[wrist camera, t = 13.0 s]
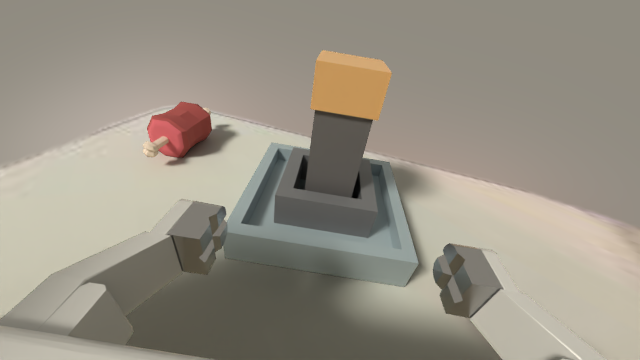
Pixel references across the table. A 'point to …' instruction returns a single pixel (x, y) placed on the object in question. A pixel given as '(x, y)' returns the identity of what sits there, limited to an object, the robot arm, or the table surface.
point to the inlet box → (322, 222)
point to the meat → (177, 130)
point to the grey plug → (343, 118)
